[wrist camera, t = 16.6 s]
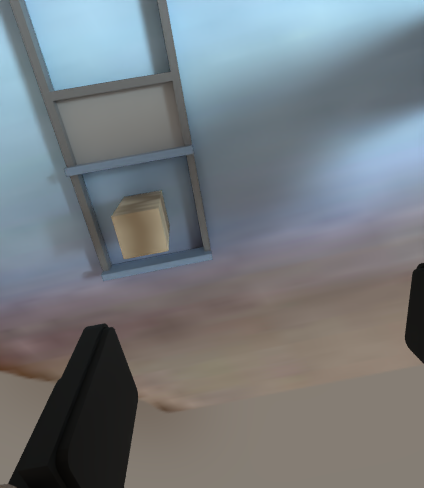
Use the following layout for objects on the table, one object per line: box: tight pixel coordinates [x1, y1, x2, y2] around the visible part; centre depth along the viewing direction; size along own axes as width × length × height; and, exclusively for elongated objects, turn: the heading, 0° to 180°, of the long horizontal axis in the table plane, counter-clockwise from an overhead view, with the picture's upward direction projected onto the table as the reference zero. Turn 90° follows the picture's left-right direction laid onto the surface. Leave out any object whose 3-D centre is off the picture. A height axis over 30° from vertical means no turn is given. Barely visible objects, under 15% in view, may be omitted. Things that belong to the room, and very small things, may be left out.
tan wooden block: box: [111, 190, 169, 259], centre depth 33 cm, size 4×4×8 cm
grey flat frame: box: [9, 0, 213, 281], centre depth 31 cm, size 14×34×2 cm, turn 9°
